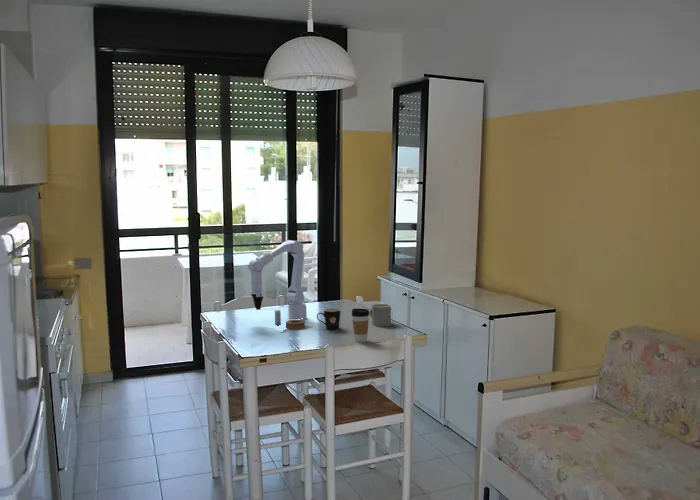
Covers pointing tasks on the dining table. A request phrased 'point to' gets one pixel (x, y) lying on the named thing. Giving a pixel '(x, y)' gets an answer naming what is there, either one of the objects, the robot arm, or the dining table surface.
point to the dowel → (277, 317)
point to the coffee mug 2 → (381, 314)
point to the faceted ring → (295, 324)
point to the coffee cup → (360, 324)
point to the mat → (295, 330)
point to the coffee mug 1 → (331, 318)
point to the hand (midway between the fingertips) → (257, 308)
